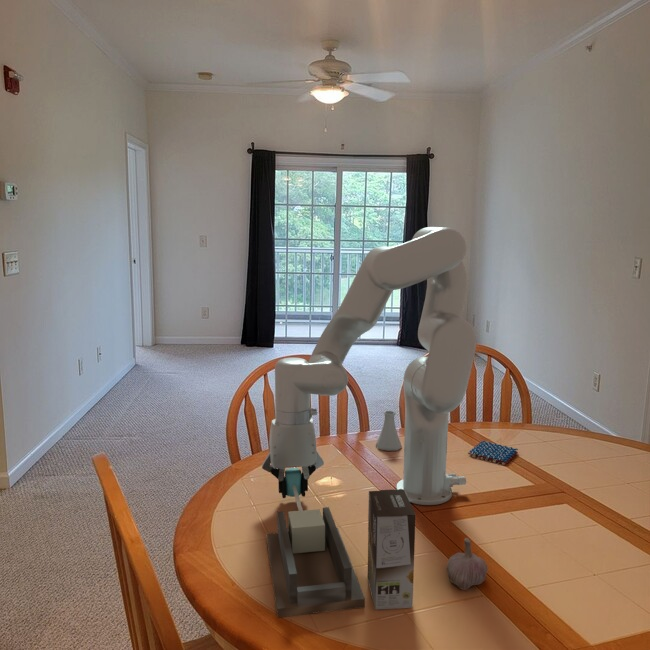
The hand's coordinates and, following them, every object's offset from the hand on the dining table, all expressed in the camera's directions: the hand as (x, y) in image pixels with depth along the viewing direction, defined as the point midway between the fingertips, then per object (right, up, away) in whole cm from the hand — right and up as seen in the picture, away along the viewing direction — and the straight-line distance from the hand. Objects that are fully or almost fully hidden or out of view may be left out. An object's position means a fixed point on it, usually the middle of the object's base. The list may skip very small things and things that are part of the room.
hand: (293, 493), depth 124 cm
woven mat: (+52, +2, +27) cm, 59 cm away
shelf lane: (+5, -6, -25) cm, 26 cm away
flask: (+25, +3, +32) cm, 40 cm away
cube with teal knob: (+2, -2, -10) cm, 11 cm away
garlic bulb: (+31, -7, -27) cm, 42 cm away
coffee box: (+18, -7, -30) cm, 36 cm away
